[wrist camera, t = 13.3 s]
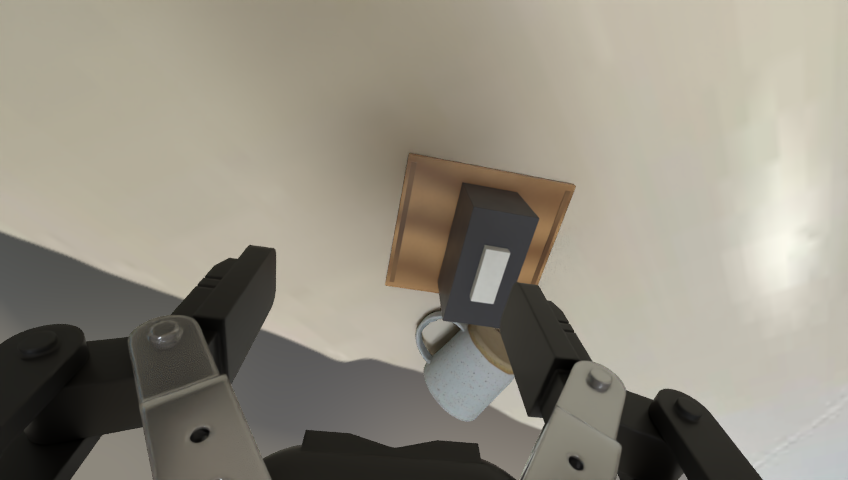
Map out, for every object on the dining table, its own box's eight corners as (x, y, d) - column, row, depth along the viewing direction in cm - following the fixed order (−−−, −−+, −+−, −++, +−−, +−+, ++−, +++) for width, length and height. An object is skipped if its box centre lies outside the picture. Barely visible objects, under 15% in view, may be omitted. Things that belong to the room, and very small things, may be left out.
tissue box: (462, 182, 34) (475, 210, 28) (517, 192, 35) (543, 222, 28) (437, 281, 39) (443, 326, 32) (486, 289, 39) (502, 334, 33)
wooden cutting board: (408, 152, 33) (408, 154, 33) (573, 184, 35) (576, 186, 35) (385, 282, 39) (385, 286, 39) (528, 303, 41) (529, 307, 41)
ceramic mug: (515, 335, 43) (534, 387, 36) (470, 379, 46) (480, 434, 39) (443, 290, 40) (449, 337, 33) (400, 339, 43) (397, 392, 36)
